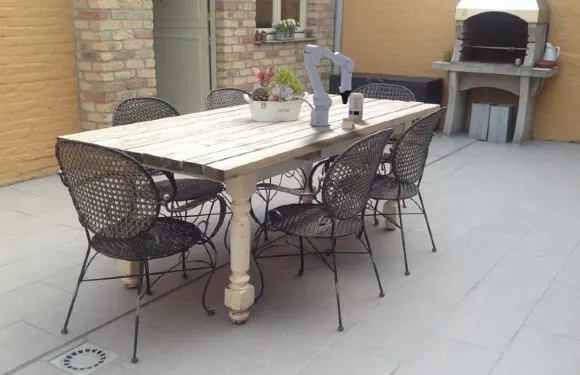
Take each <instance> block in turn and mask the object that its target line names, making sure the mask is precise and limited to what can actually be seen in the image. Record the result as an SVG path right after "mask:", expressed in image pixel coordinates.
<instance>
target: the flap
mask: <svg viewBox="0 0 580 375" xmlns="http://www.w3.org/2000/svg"><path fill="white" fill-rule="evenodd" d="M353 122H354V120H353V119H349V118H346V117H343V118H342V123H343V126H342V125H341V128H342V130H350V129H353V128H352V124H353Z"/></svg>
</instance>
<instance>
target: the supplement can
mask: <svg viewBox="0 0 580 375" xmlns="http://www.w3.org/2000/svg"><path fill="white" fill-rule="evenodd" d="M364 99H365V96H364V94H363V93H361V92H351V94H350V96H349V98H348V118H349V119H353V121H362V119H363V117H364V115H363V113H364Z"/></svg>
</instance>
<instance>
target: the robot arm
mask: <svg viewBox="0 0 580 375" xmlns="http://www.w3.org/2000/svg"><path fill="white" fill-rule="evenodd" d="M302 54H303V65H304V68H305V71H306V74H307V77H308V79H309V82H310V85H311V87H312V88H311V89H312V90H313V95H312V103H313V105H314V108H313V109H311V111H310V122H309V125H312V126H314V127H322V126H323V127H325V126H332V124H330V123H329V114H330V113H329V111H330V108H331V107H332V106H333V101H332V98H331V97H330V95H329V94H328V93H327V92H326V91H325V89H324V86H323V83H322V80H321V78H320V75H319V72H318V69H317V66H316V65H317V64H318V62H319V61H320V59H321V58H322V57H323V56H324V57H326V58H329V59H331V62H332V63H334V64H336V65H338V66H339V67H340V68H341V72H340V74H341V78H340V86H339V87H338V89H339V94H340V96H341V97H340V98H341V102H342V105H348V103H349V99H350V95H351V93H352V78H353V76H352V74H353V70H354V67H355V65H356V63H355V60H354V59H353V58H351V57H348V56H347V55H343V54H342V52H341V51H338V52H333V51H331V50H329V49H328V48H326V47H324V46H321V45H313V44H306V45H305V46H304V48H303V51H302Z"/></svg>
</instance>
